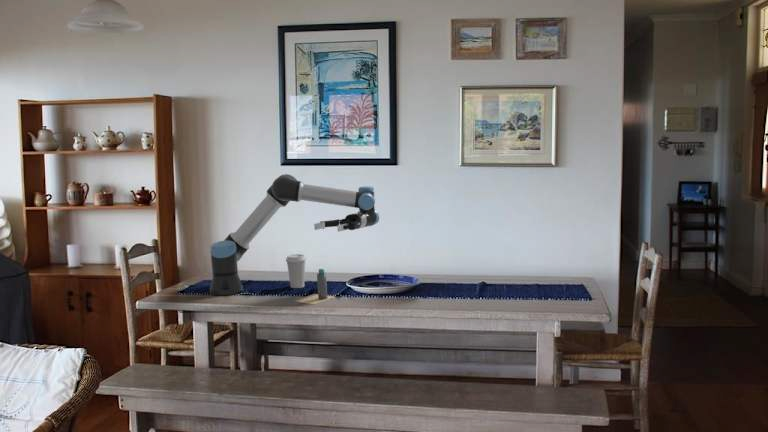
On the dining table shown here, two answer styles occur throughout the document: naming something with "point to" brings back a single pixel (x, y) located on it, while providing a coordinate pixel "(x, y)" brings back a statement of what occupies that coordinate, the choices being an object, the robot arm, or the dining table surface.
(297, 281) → the coffee cup
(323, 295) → the grey bottle
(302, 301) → the notepad
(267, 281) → the dining table surface
